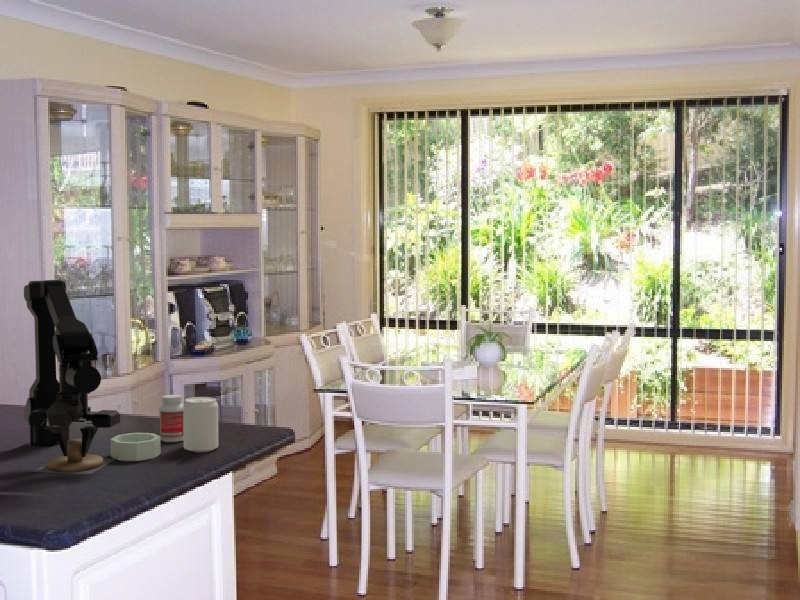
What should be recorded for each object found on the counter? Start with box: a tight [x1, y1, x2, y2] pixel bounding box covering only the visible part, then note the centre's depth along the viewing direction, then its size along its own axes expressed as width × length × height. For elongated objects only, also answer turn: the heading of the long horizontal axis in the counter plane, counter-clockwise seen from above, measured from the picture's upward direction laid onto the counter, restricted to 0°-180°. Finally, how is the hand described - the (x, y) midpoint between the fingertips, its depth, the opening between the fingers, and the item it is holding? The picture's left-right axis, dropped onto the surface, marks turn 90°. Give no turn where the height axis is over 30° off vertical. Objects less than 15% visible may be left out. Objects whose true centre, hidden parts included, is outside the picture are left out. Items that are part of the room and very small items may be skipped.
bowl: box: [110, 432, 161, 462], centre depth 214 cm, size 10×10×5 cm
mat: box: [31, 457, 116, 475], centre depth 205 cm, size 13×13×1 cm
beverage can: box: [183, 396, 219, 453], centre depth 222 cm, size 8×8×12 cm
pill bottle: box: [159, 394, 184, 443], centre depth 232 cm, size 6×6×11 cm
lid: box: [46, 438, 103, 472], centre depth 205 cm, size 12×12×6 cm
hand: (75, 456), depth 205 cm, fingers open, 4 cm apart
